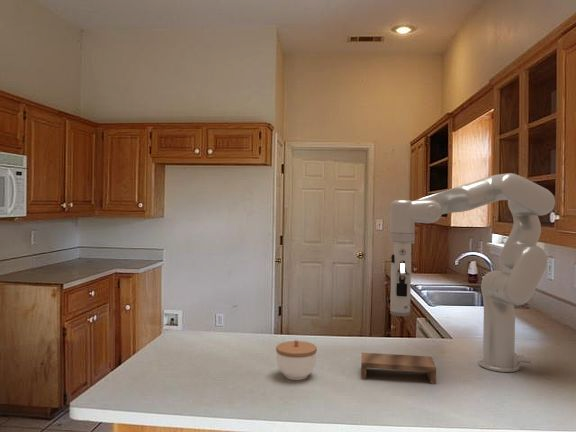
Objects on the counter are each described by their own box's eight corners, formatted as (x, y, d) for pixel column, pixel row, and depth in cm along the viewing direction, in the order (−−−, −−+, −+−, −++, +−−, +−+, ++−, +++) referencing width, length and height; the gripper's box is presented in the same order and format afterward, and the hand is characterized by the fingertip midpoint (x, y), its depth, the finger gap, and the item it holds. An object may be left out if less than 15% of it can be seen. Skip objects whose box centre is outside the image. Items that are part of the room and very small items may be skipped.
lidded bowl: (287, 386, 134) (287, 349, 133) (269, 372, 145) (269, 337, 145) (324, 379, 139) (324, 343, 139) (303, 366, 151) (304, 333, 150)
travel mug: (411, 317, 143) (412, 253, 143) (389, 315, 145) (391, 252, 145) (410, 312, 149) (412, 251, 149) (390, 311, 151) (391, 251, 151)
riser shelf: (431, 372, 146) (431, 356, 146) (435, 383, 136) (436, 367, 136) (361, 367, 150) (361, 352, 150) (361, 378, 140) (361, 362, 140)
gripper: (416, 240, 138) (415, 300, 138) (412, 237, 155) (411, 290, 155) (390, 239, 139) (389, 298, 139) (389, 236, 156) (388, 289, 156)
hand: (401, 293), depth 147 cm, fingers closed on travel mug, 6 cm apart
